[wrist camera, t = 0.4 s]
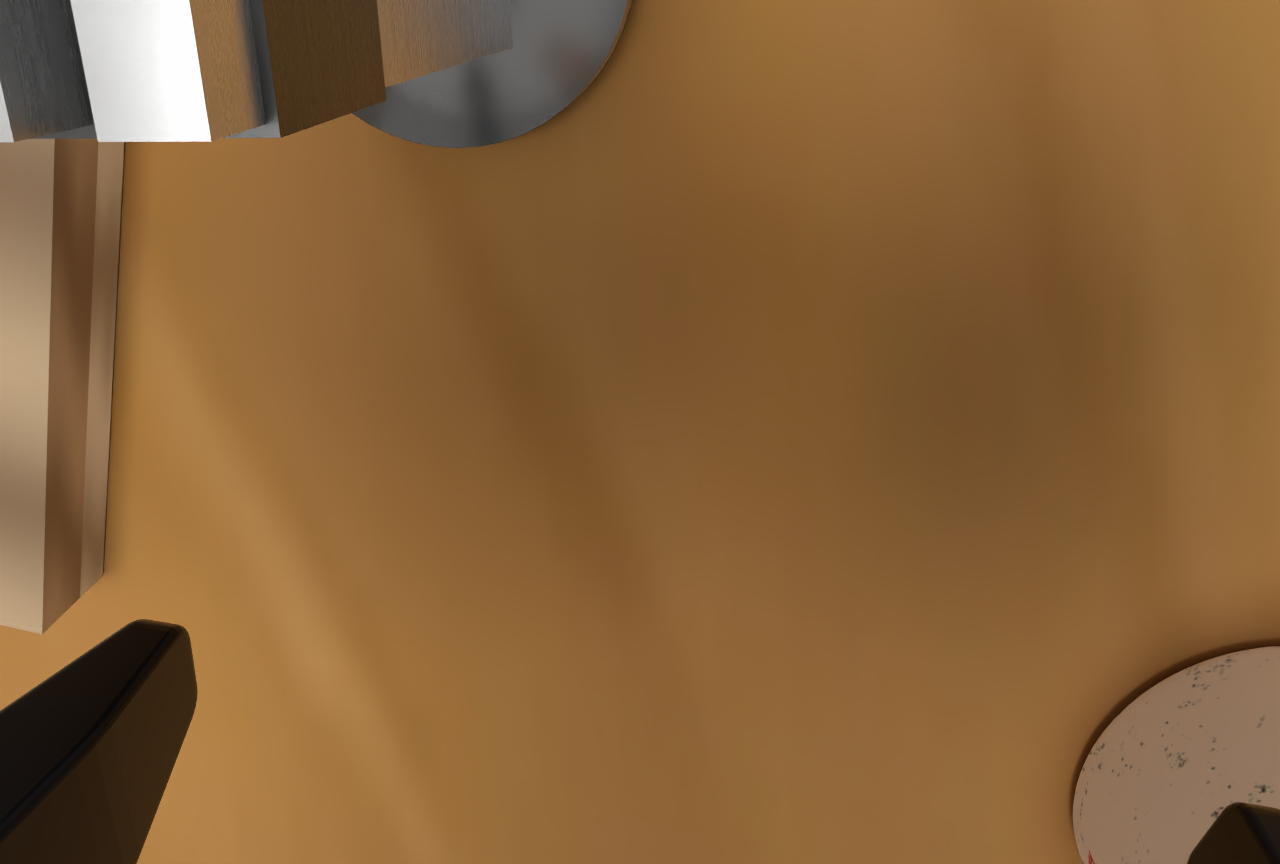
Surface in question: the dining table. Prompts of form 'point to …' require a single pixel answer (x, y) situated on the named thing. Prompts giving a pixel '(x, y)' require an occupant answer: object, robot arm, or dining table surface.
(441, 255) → the dining table surface
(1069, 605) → the dining table surface
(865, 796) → the dining table surface
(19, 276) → the square wooden tray
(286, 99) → the round base pedestal
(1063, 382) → the dining table surface
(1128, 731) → the teacup with lid
